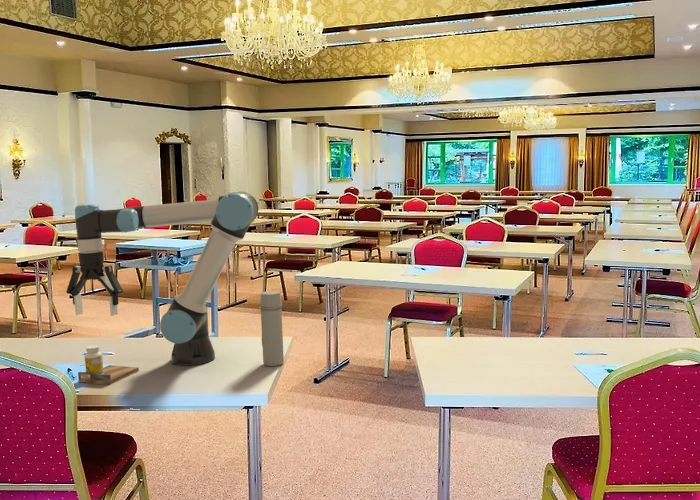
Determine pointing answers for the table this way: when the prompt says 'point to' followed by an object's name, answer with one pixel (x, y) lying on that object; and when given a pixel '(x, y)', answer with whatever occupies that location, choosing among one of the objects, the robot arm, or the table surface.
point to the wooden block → (107, 375)
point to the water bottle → (272, 328)
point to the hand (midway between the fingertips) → (96, 314)
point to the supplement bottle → (93, 360)
